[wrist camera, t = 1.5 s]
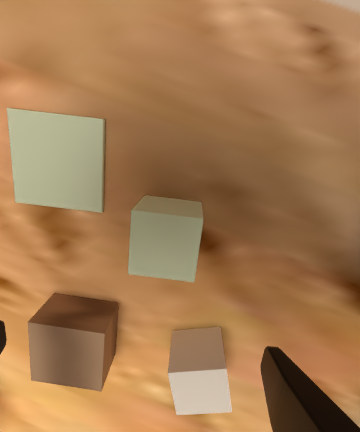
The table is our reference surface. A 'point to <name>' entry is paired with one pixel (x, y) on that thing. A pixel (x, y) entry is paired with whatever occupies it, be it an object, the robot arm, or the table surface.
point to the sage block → (165, 238)
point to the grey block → (199, 372)
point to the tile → (57, 159)
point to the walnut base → (73, 341)
